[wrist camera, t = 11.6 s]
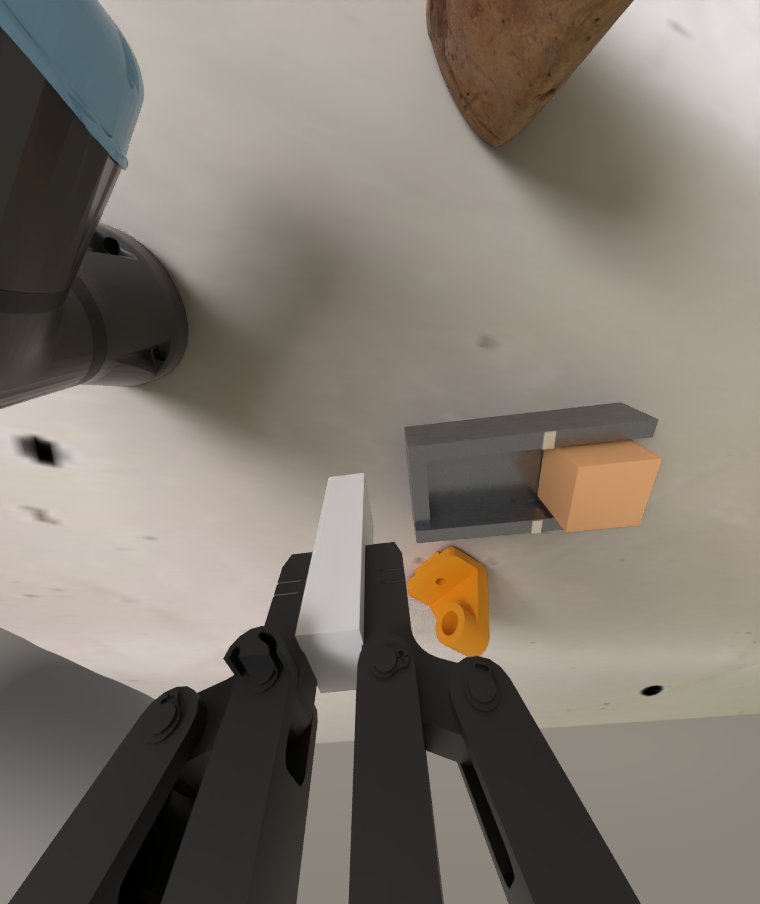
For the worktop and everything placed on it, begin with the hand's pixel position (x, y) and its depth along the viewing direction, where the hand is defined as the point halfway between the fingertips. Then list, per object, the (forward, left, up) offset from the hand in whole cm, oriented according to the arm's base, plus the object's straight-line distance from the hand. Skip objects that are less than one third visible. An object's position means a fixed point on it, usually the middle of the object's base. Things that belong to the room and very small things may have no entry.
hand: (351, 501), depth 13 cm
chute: (+16, -14, -24) cm, 33 cm away
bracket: (+7, -33, -25) cm, 42 cm away
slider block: (+24, -14, -23) cm, 36 cm away
